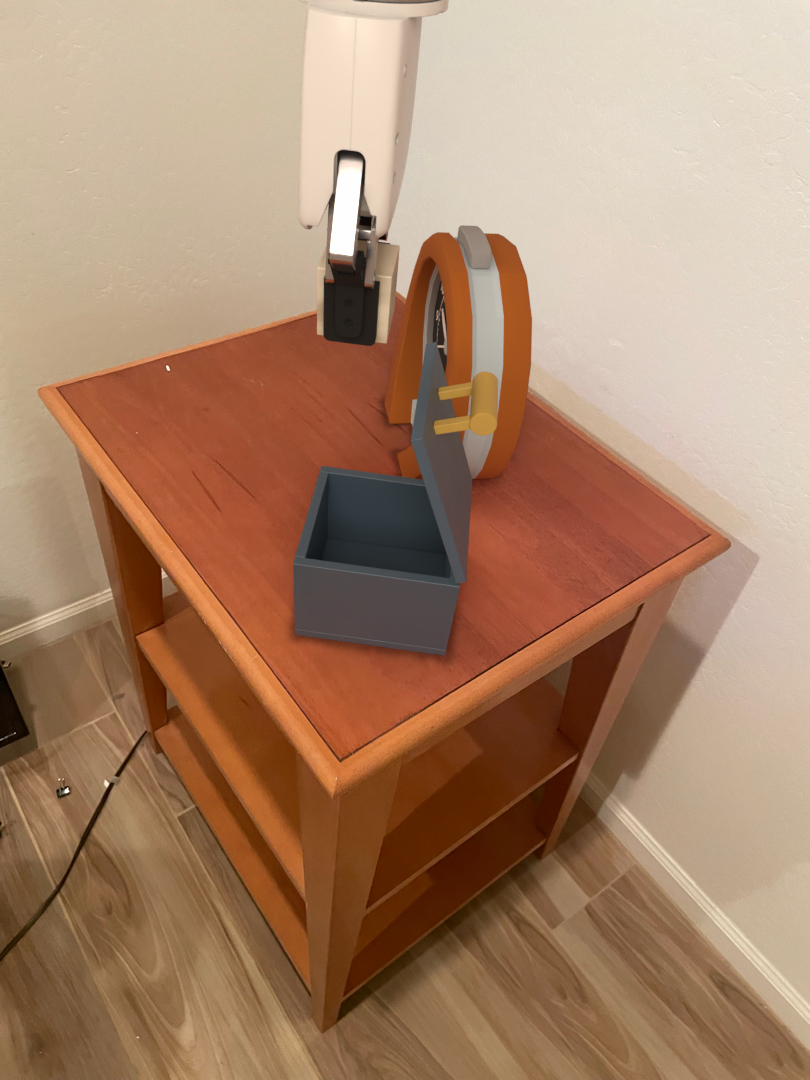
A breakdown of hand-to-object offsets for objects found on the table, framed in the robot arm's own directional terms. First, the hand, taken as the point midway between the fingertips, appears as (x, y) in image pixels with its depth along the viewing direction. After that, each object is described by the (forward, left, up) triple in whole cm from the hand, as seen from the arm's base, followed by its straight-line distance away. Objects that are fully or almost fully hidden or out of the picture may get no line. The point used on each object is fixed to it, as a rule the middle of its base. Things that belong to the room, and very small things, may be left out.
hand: (356, 317), depth 47 cm
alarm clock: (+14, +19, -26) cm, 35 cm away
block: (0, 0, 0) cm, 0 cm away
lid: (+6, -3, -11) cm, 13 cm away
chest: (+3, -2, -26) cm, 26 cm away
